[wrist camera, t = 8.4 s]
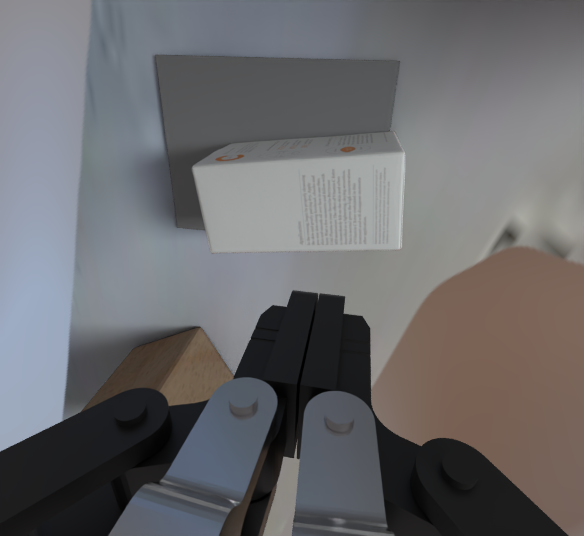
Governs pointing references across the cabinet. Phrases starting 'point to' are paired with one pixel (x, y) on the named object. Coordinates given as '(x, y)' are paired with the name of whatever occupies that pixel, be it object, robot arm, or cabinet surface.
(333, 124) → the mat
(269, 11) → the cabinet surface
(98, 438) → the robot arm
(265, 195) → the small box
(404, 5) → the cabinet surface
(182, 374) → the wooden block
